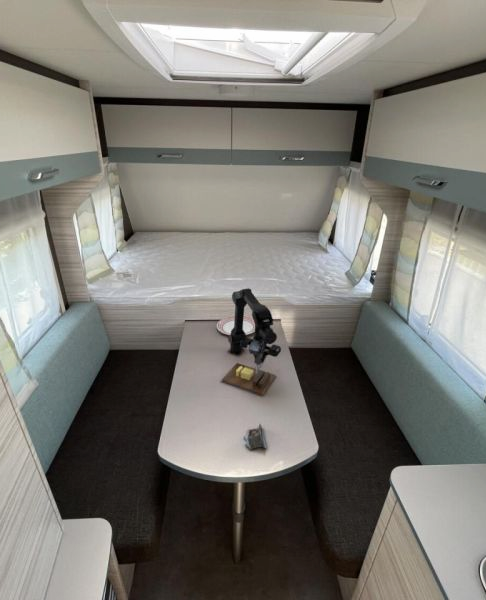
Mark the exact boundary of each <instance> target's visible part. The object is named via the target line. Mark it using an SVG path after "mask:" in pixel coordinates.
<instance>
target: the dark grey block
mask: <svg viewBox="0 0 486 600" xmlns="http://www.w3.org/2000/svg"><path fill="white" fill-rule="evenodd" d="M262 357H263V355H262V353H261V354H259V355H258V356H256V357H254V361H253V362H254V364H256V365H255V369H256V374H257V373H258V371H259V370H261V369H262V368H263V367H264V363H262Z"/></svg>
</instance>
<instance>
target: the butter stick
mask: <svg viewBox="0 0 486 600" xmlns="http://www.w3.org/2000/svg"><path fill="white" fill-rule="evenodd" d="M253 375H254V370H251V369H248V368H244V369H243V370H242V371H241V378H244V379H247V380H250V379H251V378H252V377H253Z"/></svg>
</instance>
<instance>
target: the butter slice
mask: <svg viewBox="0 0 486 600" xmlns="http://www.w3.org/2000/svg"><path fill="white" fill-rule="evenodd" d="M242 370H243V367H242V366H240V367H239V368H238V369H237V370H236V376H238V377H239V375H240V374H241V371H242Z"/></svg>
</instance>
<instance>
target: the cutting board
mask: <svg viewBox="0 0 486 600" xmlns="http://www.w3.org/2000/svg"><path fill="white" fill-rule="evenodd" d="M240 366H242V367H243V369H244V368H248V369H251V370H254V375H253V377H252V378H251V379H250V380H247V379H244V378H241V374H240V375H239V377H238V376H236V370H237V369H238V368H239V367H240ZM274 379H276V374H275V373H271V372H269V371H265V370H263V369H262V370H261V369H260V370H259V371H258V373H257V374H256V367H252V366H248V365H245V364H241V363H238V362H237V363H235V365H234V366H233V367H232V368H231V369H230V370H229V371H228V372H227V373H226V374H225V375H224V376H223V377H222V378H221V382H222V383H224V384H227V385H231V386H233V387H236V388H239V389H242V390H245V391H247V392H251V393H253V394H256V395H259V396H263V395H264V394H265V392H266V391H267V389H268V388H269V387H270V385H271V384H272V383H273V381H274Z"/></svg>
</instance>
